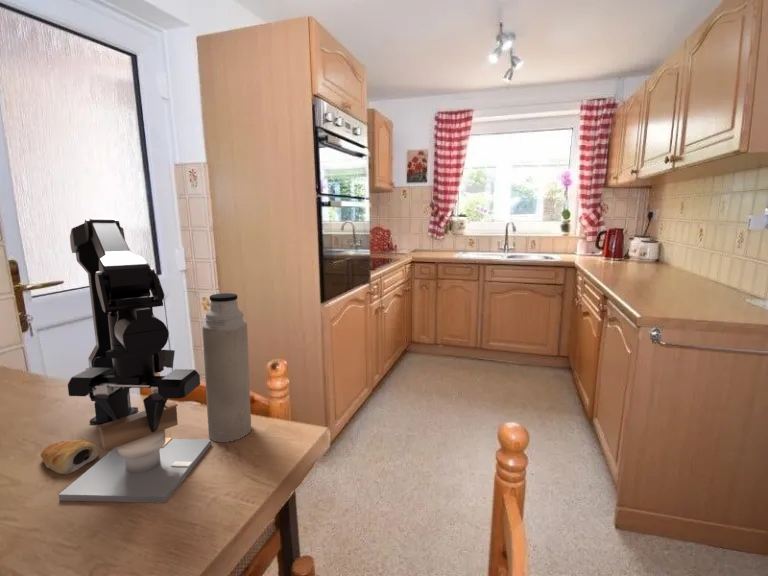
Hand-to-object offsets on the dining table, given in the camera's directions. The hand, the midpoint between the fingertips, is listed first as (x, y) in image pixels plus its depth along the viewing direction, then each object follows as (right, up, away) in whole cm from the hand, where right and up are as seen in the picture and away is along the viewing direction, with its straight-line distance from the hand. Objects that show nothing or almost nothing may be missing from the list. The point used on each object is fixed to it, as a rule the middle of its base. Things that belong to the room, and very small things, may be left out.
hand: (140, 430), depth 68 cm
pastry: (-14, -7, +3) cm, 16 cm away
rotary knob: (0, -3, 0) cm, 3 cm away
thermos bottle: (+10, -5, +14) cm, 18 cm away
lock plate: (0, -7, +1) cm, 7 cm away
